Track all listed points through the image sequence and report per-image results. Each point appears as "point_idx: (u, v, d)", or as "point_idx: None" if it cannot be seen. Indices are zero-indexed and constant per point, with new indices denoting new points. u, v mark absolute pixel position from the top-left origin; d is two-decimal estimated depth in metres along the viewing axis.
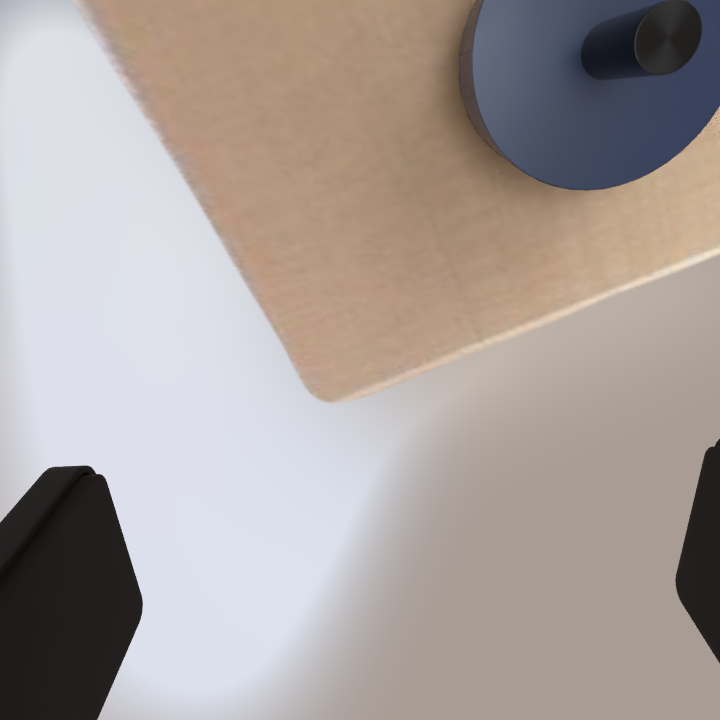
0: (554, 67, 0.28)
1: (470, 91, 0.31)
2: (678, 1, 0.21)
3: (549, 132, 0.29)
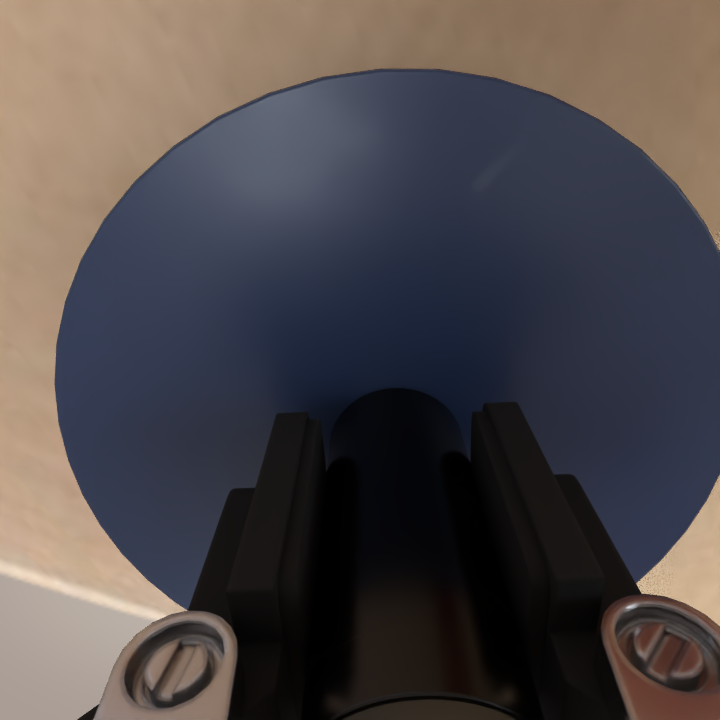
0: (281, 380, 0.10)
1: None
2: None
3: (181, 470, 0.11)
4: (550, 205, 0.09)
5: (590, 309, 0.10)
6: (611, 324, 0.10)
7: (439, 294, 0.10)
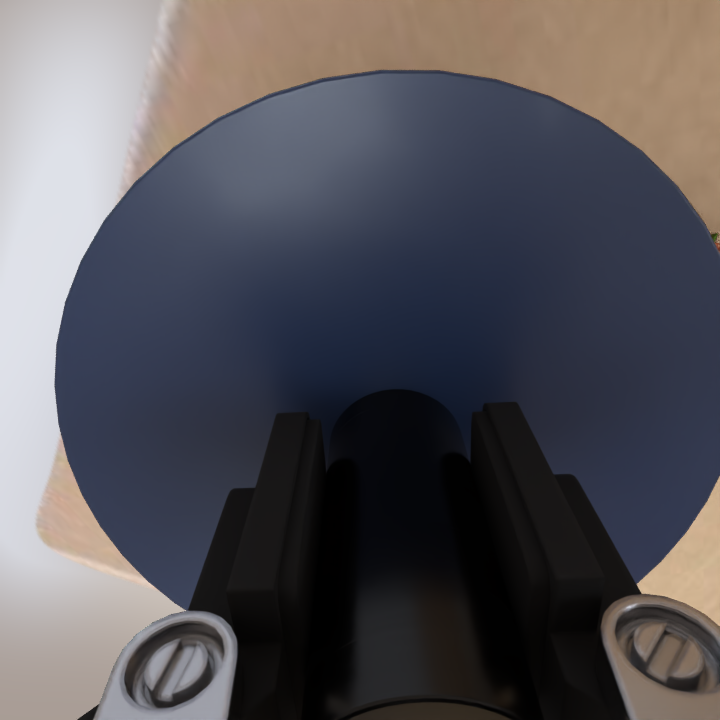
0: (281, 381, 0.10)
1: None
2: None
3: (181, 471, 0.11)
4: (550, 206, 0.09)
5: (590, 310, 0.10)
6: (611, 326, 0.10)
7: (439, 295, 0.10)
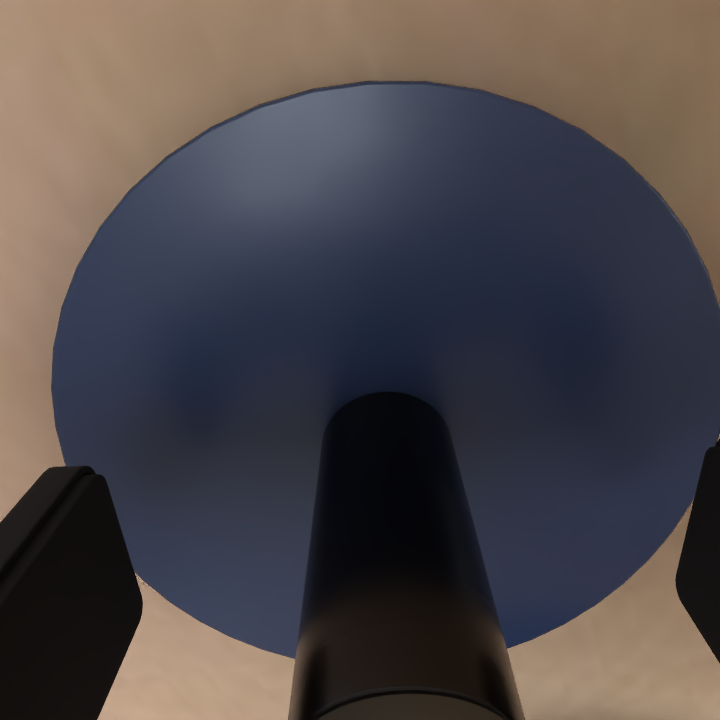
0: (274, 384, 0.11)
1: None
2: None
3: (176, 472, 0.12)
4: (536, 213, 0.09)
5: (575, 314, 0.10)
6: (595, 329, 0.10)
7: (428, 300, 0.10)
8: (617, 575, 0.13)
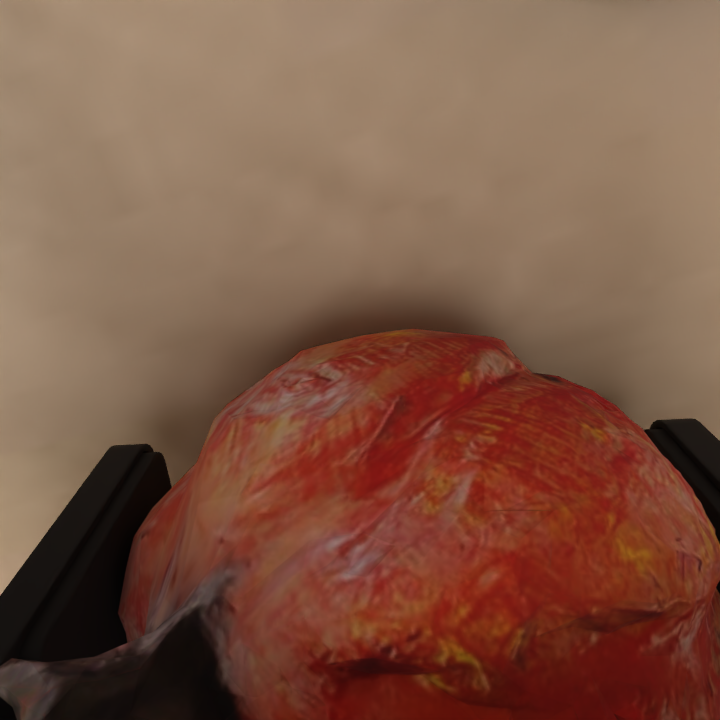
0: None
1: None
2: None
3: None
4: None
5: None
6: None
7: None
8: None
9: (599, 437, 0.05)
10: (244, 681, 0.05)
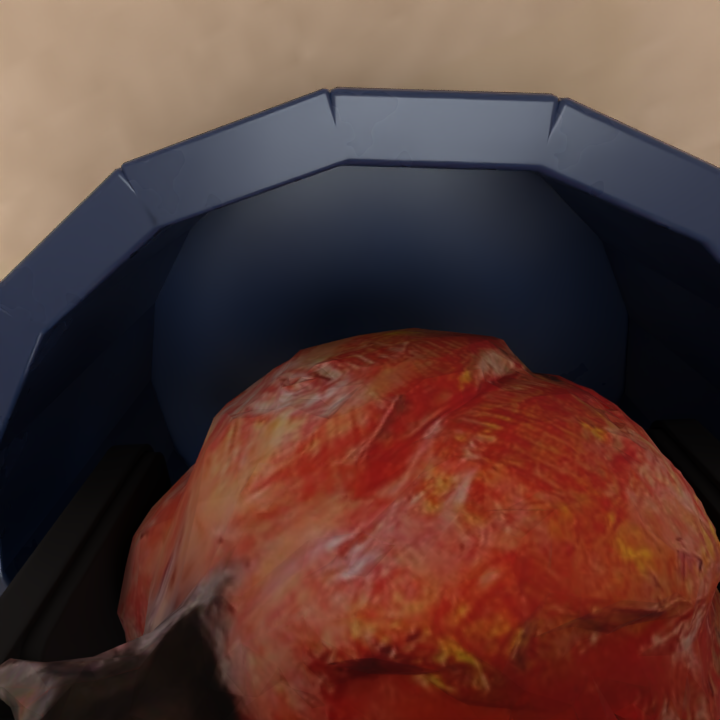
0: None
1: None
2: None
3: None
4: None
5: None
6: None
7: None
8: None
9: (598, 435, 0.05)
10: (243, 681, 0.05)
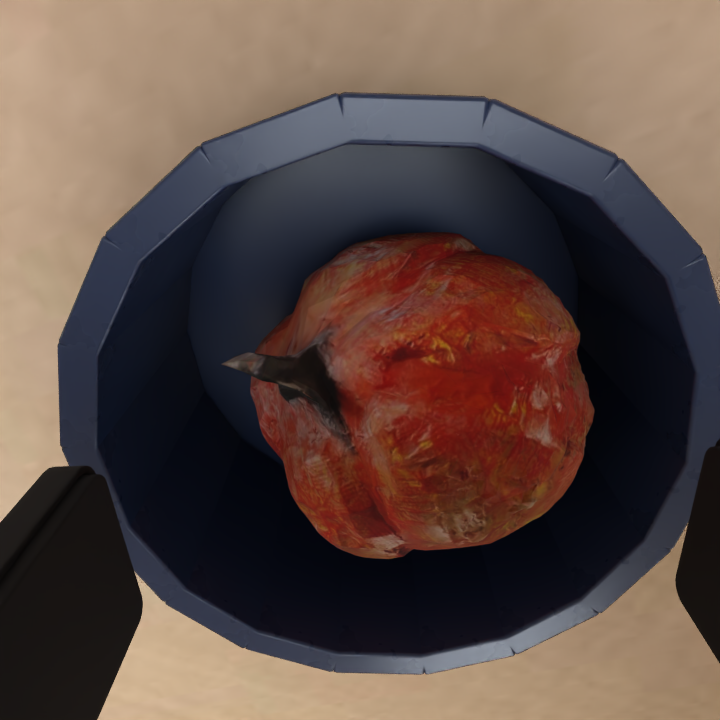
0: None
1: None
2: None
3: None
4: None
5: None
6: None
7: None
8: None
9: (513, 271, 0.11)
10: (340, 374, 0.10)
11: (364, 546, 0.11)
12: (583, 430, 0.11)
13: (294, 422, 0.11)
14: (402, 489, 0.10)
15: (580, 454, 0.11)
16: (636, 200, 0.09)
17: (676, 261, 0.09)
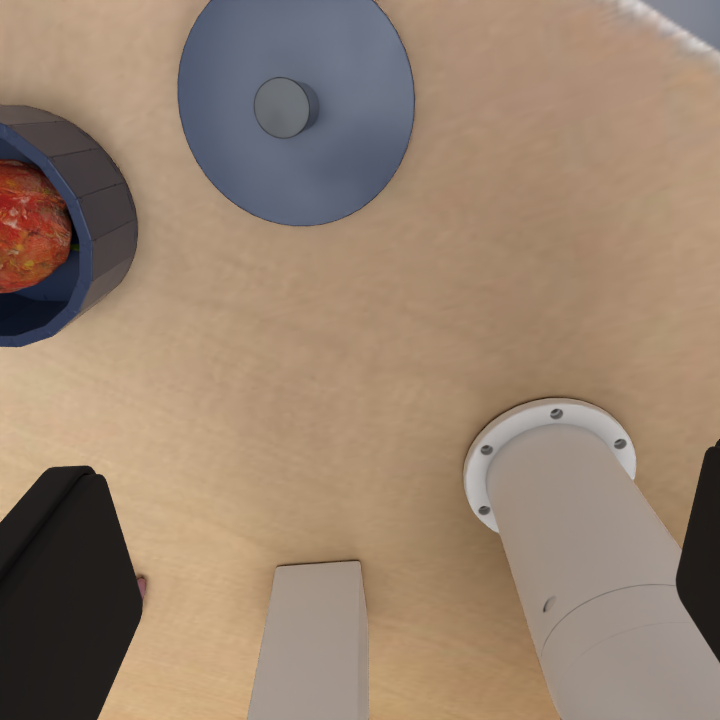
0: (320, 63, 0.30)
1: (38, 126, 0.29)
2: (297, 131, 0.26)
3: (280, 16, 0.29)
4: (378, 152, 0.32)
5: (347, 169, 0.33)
6: (343, 177, 0.33)
7: (352, 120, 0.31)
8: (243, 203, 0.33)
9: (19, 170, 0.29)
10: None
11: None
12: (52, 232, 0.30)
13: None
14: None
15: (45, 239, 0.29)
16: (16, 139, 0.27)
17: (39, 160, 0.27)
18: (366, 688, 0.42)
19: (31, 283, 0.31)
